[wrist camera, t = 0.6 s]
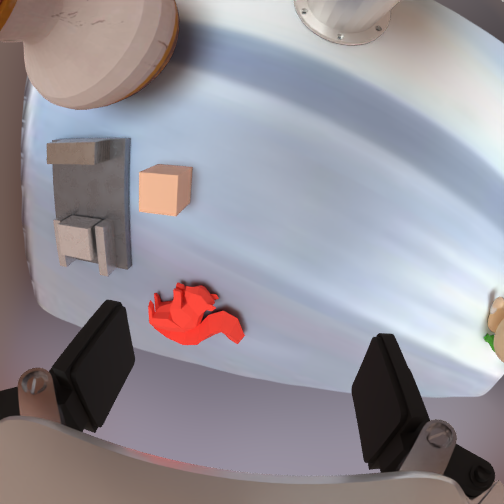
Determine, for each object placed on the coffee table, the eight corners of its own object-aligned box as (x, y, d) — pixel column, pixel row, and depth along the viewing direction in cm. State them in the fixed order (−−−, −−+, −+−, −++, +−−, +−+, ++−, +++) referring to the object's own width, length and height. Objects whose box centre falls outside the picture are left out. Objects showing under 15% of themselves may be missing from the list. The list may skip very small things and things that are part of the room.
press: (58, 139, 38) (35, 144, 33) (130, 138, 37) (110, 142, 32) (66, 252, 46) (48, 266, 41) (131, 265, 46) (116, 282, 41)
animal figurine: (244, 340, 51) (241, 361, 46) (161, 327, 51) (151, 345, 46) (251, 284, 45) (248, 303, 41) (156, 271, 46) (144, 288, 41)
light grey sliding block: (72, 215, 41) (57, 224, 37) (101, 219, 41) (87, 228, 37) (75, 244, 43) (61, 254, 40) (104, 249, 43) (91, 260, 39)
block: (158, 164, 39) (139, 172, 33) (192, 166, 38) (178, 175, 33) (156, 198, 41) (139, 211, 35) (190, 202, 41) (176, 216, 35)
